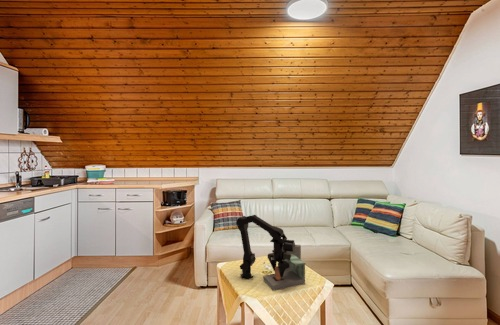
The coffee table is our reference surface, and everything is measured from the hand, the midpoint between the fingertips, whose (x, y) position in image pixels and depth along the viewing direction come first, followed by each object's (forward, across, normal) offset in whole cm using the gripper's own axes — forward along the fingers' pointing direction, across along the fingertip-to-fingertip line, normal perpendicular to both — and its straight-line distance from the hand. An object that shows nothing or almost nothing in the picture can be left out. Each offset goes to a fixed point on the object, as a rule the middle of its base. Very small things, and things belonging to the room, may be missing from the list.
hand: (278, 273), depth 176 cm
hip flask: (+6, +12, -15) cm, 20 cm away
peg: (+6, 0, 0) cm, 6 cm away
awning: (+3, 0, -11) cm, 12 cm away
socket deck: (+6, 0, -4) cm, 7 cm away
